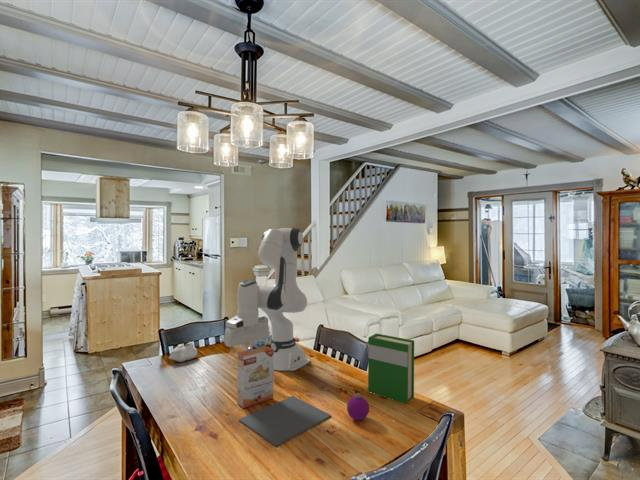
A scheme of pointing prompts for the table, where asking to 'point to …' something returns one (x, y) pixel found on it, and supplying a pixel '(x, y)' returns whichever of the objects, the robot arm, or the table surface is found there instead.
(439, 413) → the table surface
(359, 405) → the christmas ornament
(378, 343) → the hardback book
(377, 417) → the table surface
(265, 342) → the chinaware
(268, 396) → the cracker box
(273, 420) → the mat
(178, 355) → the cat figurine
